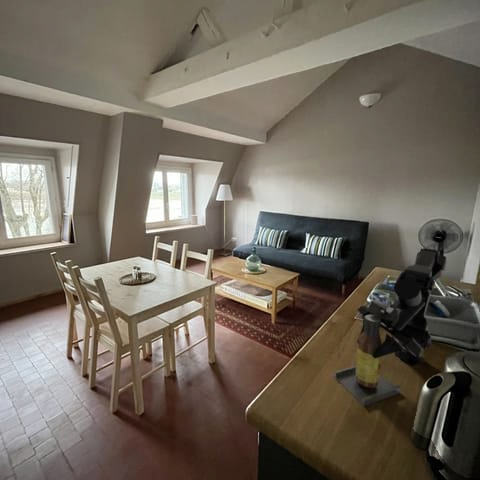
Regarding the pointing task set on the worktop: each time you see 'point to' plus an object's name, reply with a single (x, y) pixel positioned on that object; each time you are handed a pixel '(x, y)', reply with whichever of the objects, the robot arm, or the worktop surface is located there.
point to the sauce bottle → (369, 353)
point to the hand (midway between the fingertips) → (365, 350)
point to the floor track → (365, 393)
